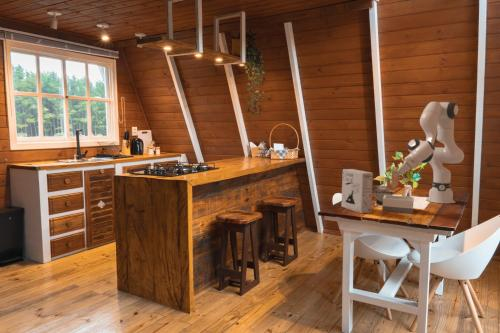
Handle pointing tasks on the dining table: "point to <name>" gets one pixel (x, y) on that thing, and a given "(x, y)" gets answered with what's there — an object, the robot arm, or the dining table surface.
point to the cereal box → (357, 190)
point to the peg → (394, 180)
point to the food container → (382, 195)
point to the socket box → (398, 203)
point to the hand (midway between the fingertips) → (393, 176)
